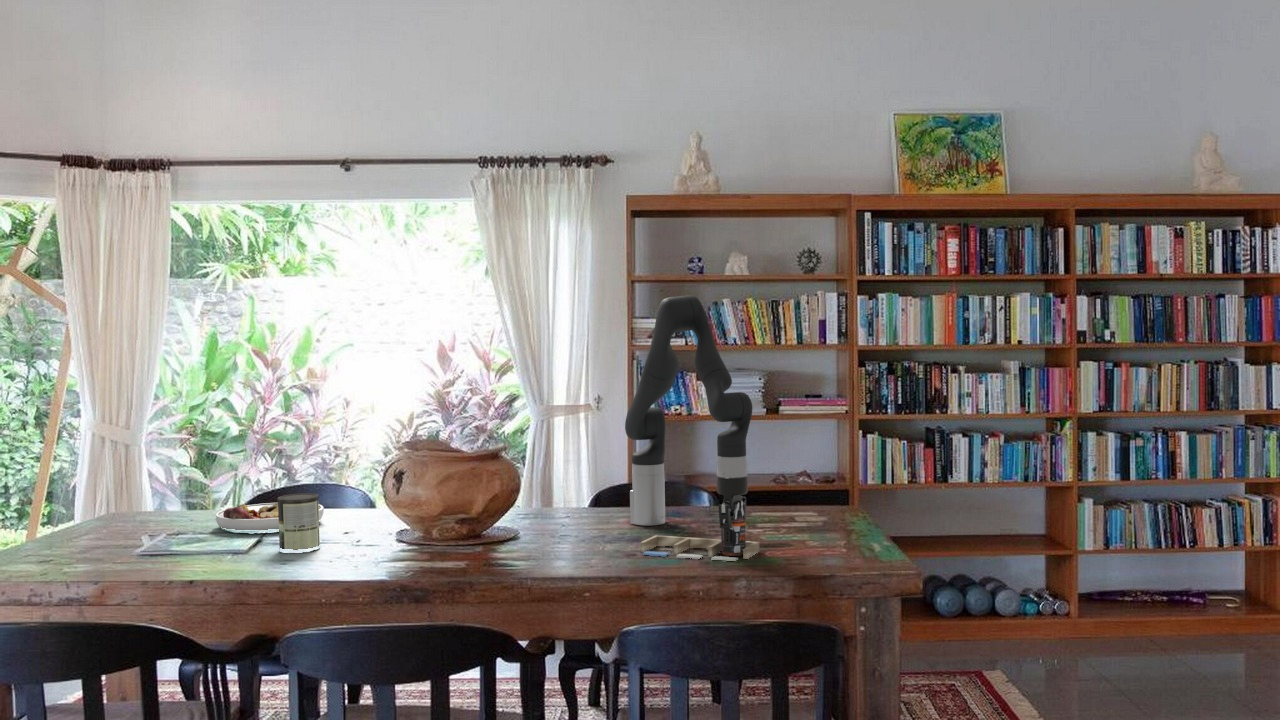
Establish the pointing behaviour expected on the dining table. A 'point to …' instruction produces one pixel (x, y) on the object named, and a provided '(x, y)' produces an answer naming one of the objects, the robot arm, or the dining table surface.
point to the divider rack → (694, 545)
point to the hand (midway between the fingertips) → (733, 542)
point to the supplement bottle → (735, 538)
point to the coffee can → (298, 521)
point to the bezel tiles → (689, 556)
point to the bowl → (252, 517)
